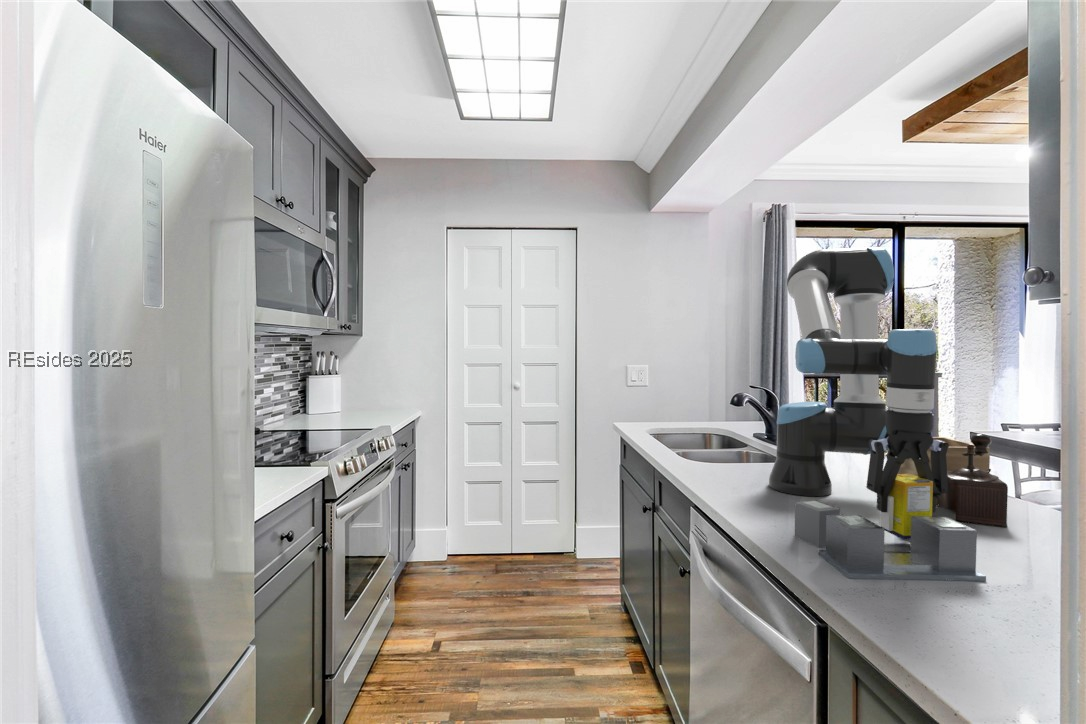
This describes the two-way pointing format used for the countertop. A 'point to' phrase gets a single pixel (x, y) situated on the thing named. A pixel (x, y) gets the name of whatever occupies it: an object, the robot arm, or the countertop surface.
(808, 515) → the module
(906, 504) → the supplement box
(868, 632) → the countertop surface
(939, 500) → the manual coffee grinder
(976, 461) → the bottle crate
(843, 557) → the rail panel
